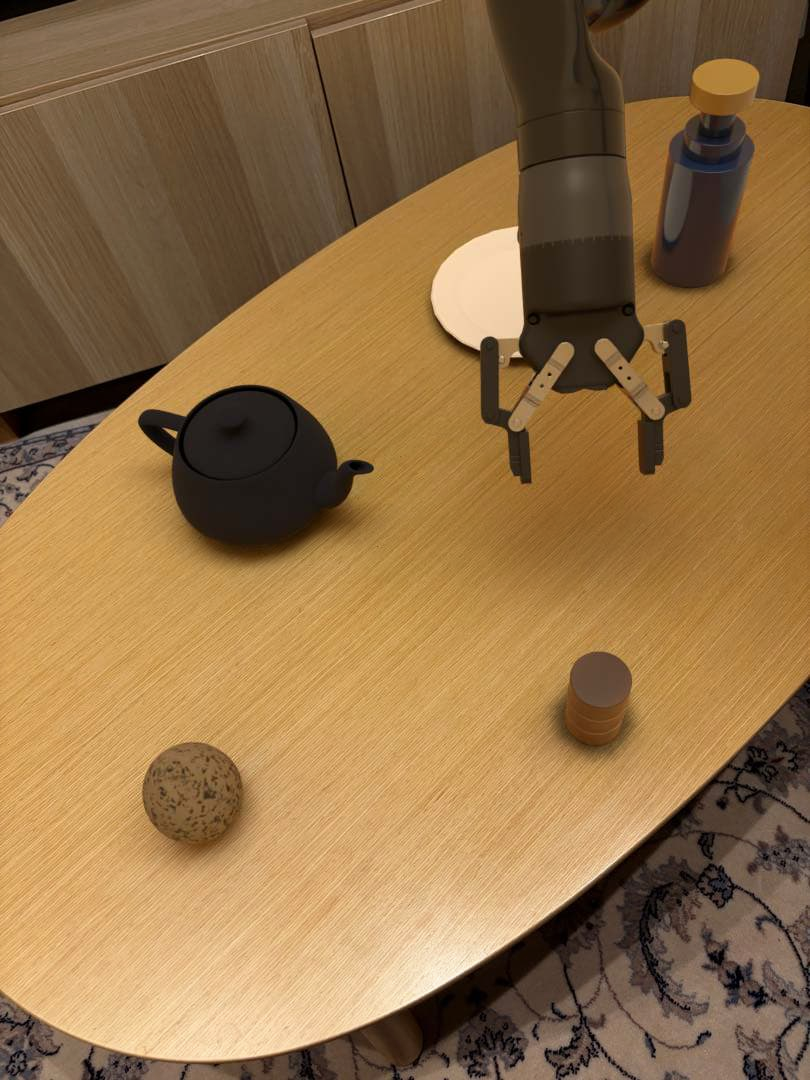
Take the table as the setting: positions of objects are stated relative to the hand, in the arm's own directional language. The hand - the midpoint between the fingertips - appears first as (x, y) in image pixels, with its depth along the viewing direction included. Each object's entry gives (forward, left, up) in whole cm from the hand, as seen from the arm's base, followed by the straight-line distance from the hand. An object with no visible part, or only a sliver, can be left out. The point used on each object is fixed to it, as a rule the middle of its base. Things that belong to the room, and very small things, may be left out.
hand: (586, 478), depth 62 cm
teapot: (+29, +8, -17) cm, 35 cm away
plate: (+24, -28, -17) cm, 41 cm away
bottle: (+12, -42, -17) cm, 47 cm away
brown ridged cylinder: (-8, +9, -17) cm, 20 cm away
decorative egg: (+12, +33, -17) cm, 39 cm away
